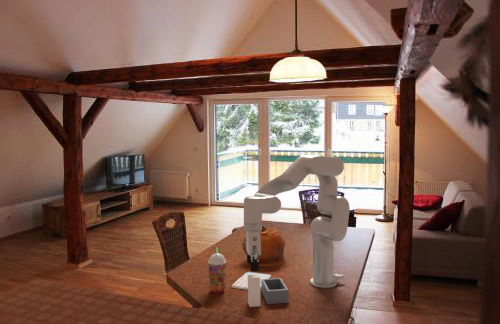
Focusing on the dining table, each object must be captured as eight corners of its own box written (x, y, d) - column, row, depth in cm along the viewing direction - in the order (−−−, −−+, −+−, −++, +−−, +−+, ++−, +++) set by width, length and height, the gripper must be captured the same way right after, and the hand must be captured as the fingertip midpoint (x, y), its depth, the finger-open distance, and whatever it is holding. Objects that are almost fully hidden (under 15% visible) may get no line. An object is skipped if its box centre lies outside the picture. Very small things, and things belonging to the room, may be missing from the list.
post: (258, 301, 164) (258, 273, 164) (260, 306, 160) (260, 277, 159) (248, 302, 164) (247, 274, 163) (249, 306, 159) (249, 278, 159)
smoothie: (205, 293, 174) (204, 249, 173) (213, 286, 182) (212, 244, 181) (222, 295, 171) (221, 250, 170) (229, 288, 179) (229, 245, 178)
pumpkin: (236, 262, 217) (236, 222, 215) (261, 251, 237) (261, 215, 236) (271, 270, 204) (270, 227, 202) (294, 257, 224) (293, 219, 223)
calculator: (231, 289, 180) (230, 285, 180) (246, 274, 199) (246, 271, 199) (258, 292, 175) (258, 288, 175) (271, 277, 194) (271, 273, 194)
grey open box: (281, 289, 177) (280, 277, 176) (288, 302, 163) (288, 289, 163) (261, 291, 175) (261, 279, 175) (267, 304, 162) (267, 291, 161)
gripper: (265, 230, 152) (265, 274, 153) (258, 222, 169) (258, 260, 170) (246, 231, 151) (246, 274, 151) (241, 222, 168) (240, 261, 169)
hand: (252, 267), depth 161 cm, fingers open, 9 cm apart
